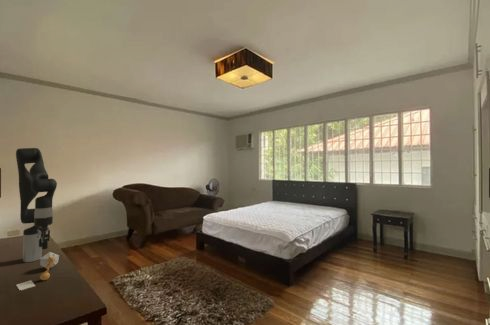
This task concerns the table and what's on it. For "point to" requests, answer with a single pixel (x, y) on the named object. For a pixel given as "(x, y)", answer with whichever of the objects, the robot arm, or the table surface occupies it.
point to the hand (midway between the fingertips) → (43, 247)
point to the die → (45, 259)
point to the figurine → (46, 275)
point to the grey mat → (25, 285)
